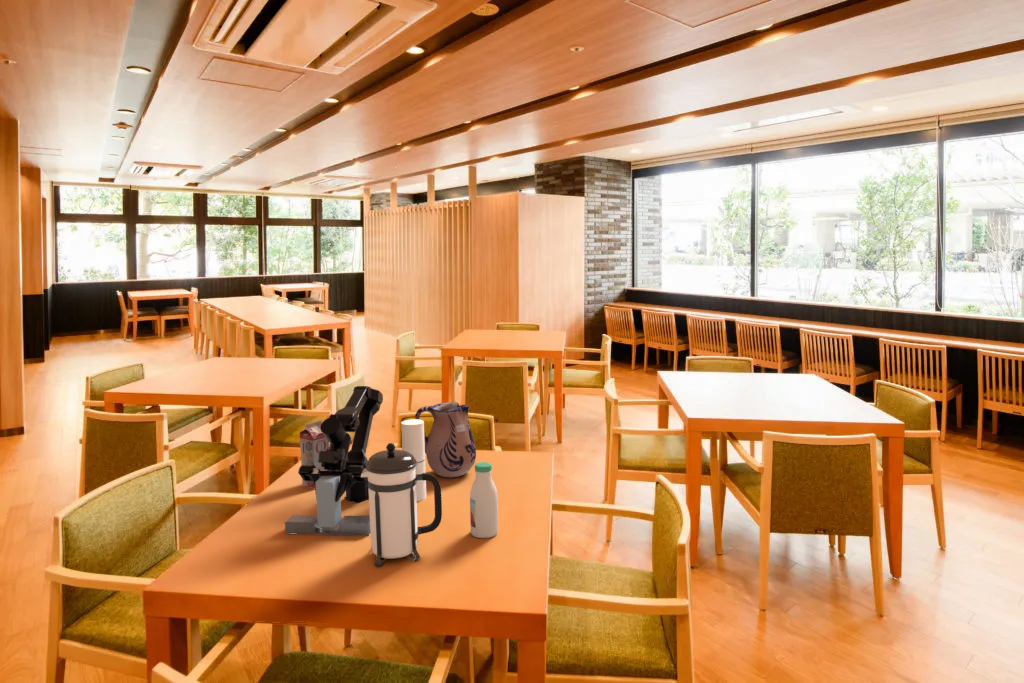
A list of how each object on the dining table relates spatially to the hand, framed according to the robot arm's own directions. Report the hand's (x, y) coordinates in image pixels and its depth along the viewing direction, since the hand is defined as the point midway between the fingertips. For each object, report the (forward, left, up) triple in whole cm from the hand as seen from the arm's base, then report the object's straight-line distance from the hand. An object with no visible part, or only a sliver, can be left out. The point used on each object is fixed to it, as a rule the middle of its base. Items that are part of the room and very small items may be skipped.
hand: (326, 501), depth 178 cm
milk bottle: (-27, +35, -10) cm, 45 cm away
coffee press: (-4, +26, -10) cm, 28 cm away
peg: (-1, -1, -7) cm, 7 cm away
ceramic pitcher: (-55, -9, -10) cm, 57 cm away
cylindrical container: (-33, -1, -10) cm, 35 cm away
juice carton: (-20, -37, -10) cm, 44 cm away
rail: (-1, -1, -9) cm, 9 cm away
